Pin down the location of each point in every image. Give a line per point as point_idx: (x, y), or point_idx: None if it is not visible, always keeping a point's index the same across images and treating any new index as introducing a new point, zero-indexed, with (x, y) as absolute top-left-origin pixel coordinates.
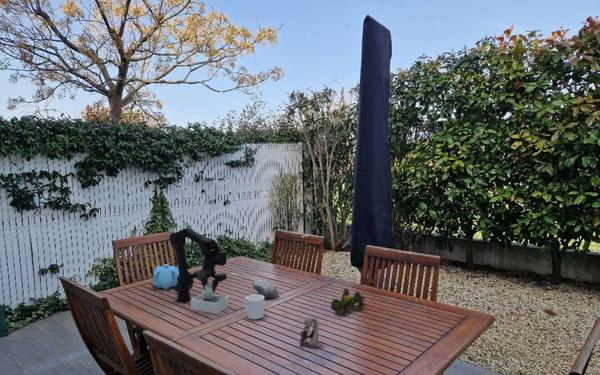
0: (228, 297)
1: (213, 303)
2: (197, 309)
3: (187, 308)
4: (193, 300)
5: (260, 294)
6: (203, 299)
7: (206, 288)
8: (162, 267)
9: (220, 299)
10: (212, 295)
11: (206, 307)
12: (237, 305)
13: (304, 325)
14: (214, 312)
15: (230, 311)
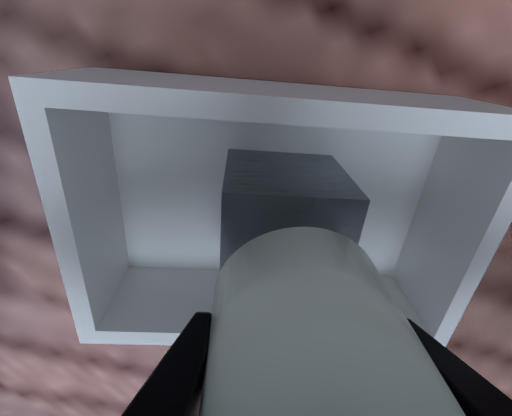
0: (80, 331)
1: (95, 81)
2: (374, 90)
3: (503, 103)
4: (501, 111)
5: None
6: (356, 189)
7: (358, 330)
8: None
9: (199, 302)
10: None
11: (246, 83)
12: None
13: None
14: (130, 70)
15: (21, 177)
